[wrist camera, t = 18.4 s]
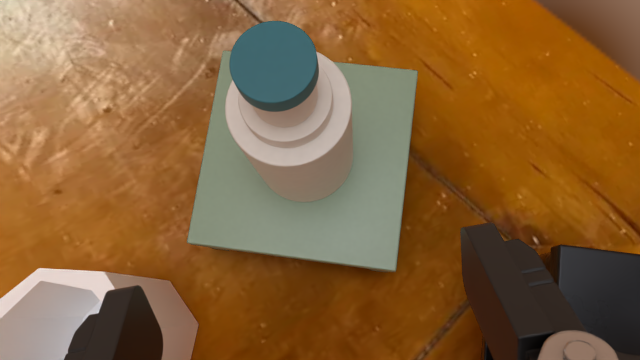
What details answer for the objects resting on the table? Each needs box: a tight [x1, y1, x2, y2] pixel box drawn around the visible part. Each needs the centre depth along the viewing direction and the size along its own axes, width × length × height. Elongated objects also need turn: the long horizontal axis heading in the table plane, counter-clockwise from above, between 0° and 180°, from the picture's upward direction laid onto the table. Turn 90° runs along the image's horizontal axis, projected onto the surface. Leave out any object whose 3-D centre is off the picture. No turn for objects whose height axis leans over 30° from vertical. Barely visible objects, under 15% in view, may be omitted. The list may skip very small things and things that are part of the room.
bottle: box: [225, 21, 353, 202], centre depth 27 cm, size 6×6×13 cm
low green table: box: [187, 51, 418, 272], centre depth 35 cm, size 12×12×5 cm
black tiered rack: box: [481, 244, 640, 360], centre depth 27 cm, size 8×8×16 cm
